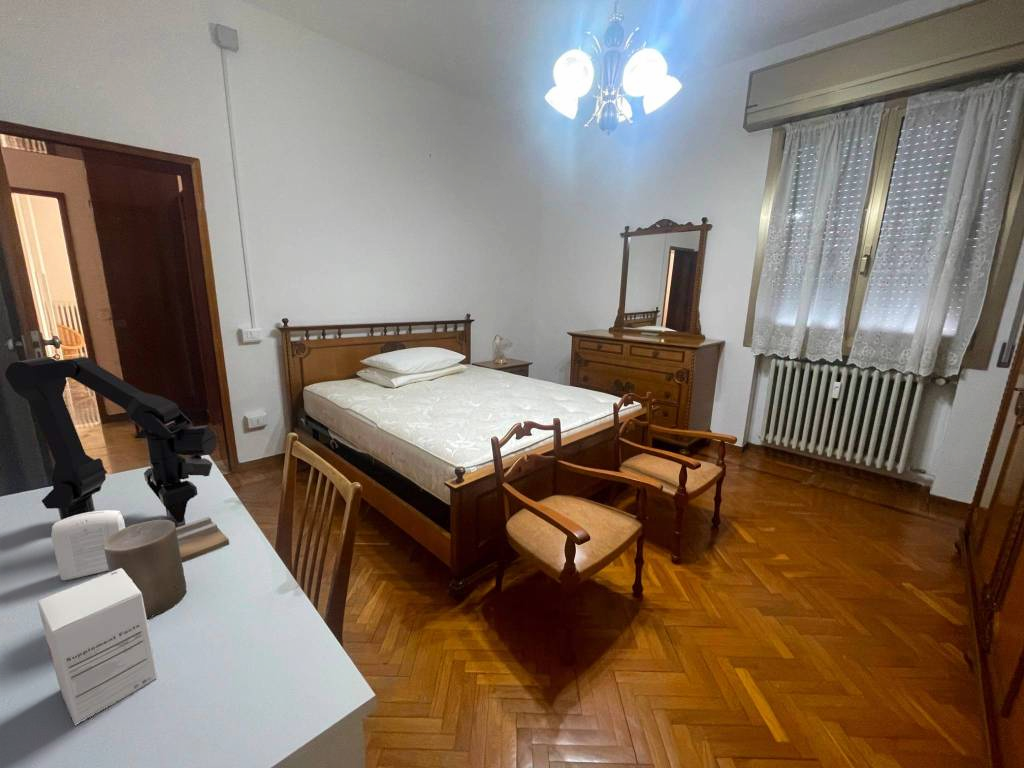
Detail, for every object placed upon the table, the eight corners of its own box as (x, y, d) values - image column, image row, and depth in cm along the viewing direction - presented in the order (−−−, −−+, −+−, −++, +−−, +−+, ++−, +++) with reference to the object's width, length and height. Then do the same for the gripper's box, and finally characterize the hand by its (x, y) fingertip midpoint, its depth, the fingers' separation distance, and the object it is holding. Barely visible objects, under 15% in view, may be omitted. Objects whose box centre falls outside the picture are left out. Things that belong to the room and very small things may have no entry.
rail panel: (144, 543, 92) (142, 532, 92) (208, 521, 102) (207, 511, 101) (161, 570, 84) (158, 558, 83) (229, 544, 93) (227, 533, 92)
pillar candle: (199, 590, 79) (187, 518, 76) (140, 628, 70) (124, 548, 67) (164, 578, 82) (152, 508, 79) (103, 613, 73) (86, 536, 70)
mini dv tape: (167, 516, 103) (163, 494, 102) (174, 514, 104) (170, 492, 103) (178, 528, 99) (174, 505, 97) (185, 525, 100) (182, 503, 98)
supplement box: (58, 690, 59) (34, 599, 56) (139, 647, 66) (122, 565, 63) (73, 729, 54) (48, 632, 51) (159, 678, 61) (142, 590, 58)
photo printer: (133, 555, 88) (123, 502, 86) (129, 566, 85) (118, 511, 82) (64, 572, 83) (51, 515, 80) (57, 584, 79) (43, 526, 77)
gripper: (219, 455, 98) (227, 515, 102) (194, 436, 109) (202, 490, 113) (158, 470, 90) (169, 535, 93) (138, 447, 101) (149, 506, 104)
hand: (175, 514), depth 101 cm, fingers open, 9 cm apart
